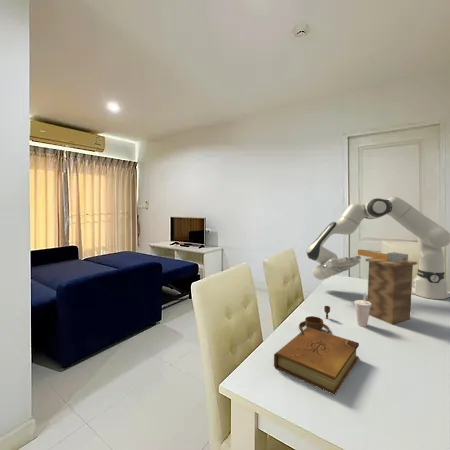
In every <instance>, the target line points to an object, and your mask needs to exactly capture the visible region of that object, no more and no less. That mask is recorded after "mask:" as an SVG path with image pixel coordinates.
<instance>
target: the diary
mask: <svg viewBox="0 0 450 450" xmlns="http://www.w3.org/2000/svg"><path fill="white" fill-rule="evenodd" d="M302 330H303V331H301V332H299V334H297V335H296V336H294V337H293V338H292V339H290V340H289V341H288V342H287V343H286V344H285V345H283V347H281V348H280V349H278V350H277V352H275V353H274V354H273V367H274V368H275V369H277V370H279V371H281V372H283V373H285V374H288V375H290V376H293V377H294V378H296V379H299V380H300V381H303V382H305V383H308V384H310V385H312V386H314V387H316V386H317V388H318V387H319V388H318V389H320V388H321V390H323V389H324V390H323V391H325V390H326V391H325V392H327V391H328V392H327V393H329V392H330V394H331V393H332V394H331V395H333V394H335V393H336V394H337V392H338V391H337V390H339V389H340V387H341V386H342V385H343V383H344V381H345V380H344V379H346V378H347V377H348V375H349V374H350V371H351V370H352V369H353V367H354V366H355V364H356V362H357V361H358V360H359V356H358V355H357V349H358V347H359V345H360V342H357V341H353V340H351V339H347V338H344V337H341V336H337V335H335V334H332V333H330V332H329V333H327V332H325V331H321V330H320V331H319V330H316V329H313V328H309V327H305V328H304V329H302ZM342 382H343V383H342ZM340 385H341V386H340ZM336 394H335V395H336Z"/></svg>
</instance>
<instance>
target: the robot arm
mask: <svg viewBox="0 0 450 450" xmlns="http://www.w3.org/2000/svg"><path fill="white" fill-rule="evenodd" d="M386 215H387V216H390V217H391V218H392V219H394V220H395V221H396V223H399V225H401V226H402V227H403V228H404V229H406V230H408V231H409V232H410V233H412V234H413V235H415V236H416V238H417V245H418V246H417V247H418V248H417V249H418V268H417V271H416V275H415V277H414V278H412V290H411V295H416V296H419V297H422V298H427V299H432V300H444V299H447V298H448V299H449V297H450V294H448V282H447V281H446V280H445V277H446V275H445V274H446V273H445V270H444V269H445V255H444V251H443V248H445V247H446V246H448V245H449V244H450V232H449V231H448V230H447V229H445V228H444V227H443V226H441V225H440V224H438V223H437V222H435V221H433V220H432V219H431V218H429V217H428V216H426V215H424V213H422V212H420V211H419V210H417V208H415V207H414V206H412V205H411V204H409V203H408V202H407V201H405V200H404V199H402V198H400V197H397V196H391V197H388V198H387V199H386V198H385V199H384V198H380V197H379V198H378V197H377V198H373V199H371V200H369V201H367V202H366V203H363V204H360V203H355V202H353V203H350V204H349V205H348V206H347V208H346V209H344V211H343V212H342V214H341V216H340V217H339V219H337V220H336V221H332V222H330V223H329V224H327V226H325V228H324V230H322V232H321V233H320V234H319V235H318V236H317V238H316V239H315V240H314V241H313V242H312V243H311V244H310V245H308V247H307V249H306V256H307V257H308V259H309V260H312V261H314V262H317V263H318V265H317V266H315V267H314V268H313V269H312V271H311V272H312V275H313V276H314V278H316V279H317V280H319V281H321V280H322V281H323V280H326V279H330V278H331V277H333V276H335V275H338V274H341V273H343V272H347V271H349V270H350V269H351V268H353V267H354V266H357V265H358V264H360V263H361V255H356V256H351V257H349V256H348V257H346V256H344V257H341V258H338V255H337V254H336V253H334V252H333V251H331V250H330V249H328V248H326V247H324V244H325V243H326V242H327V241H328V240H329V238H330V237H331V236H333V235H336V234H337V235H338V234H339V235H346V236H347V235H352V234H353V233H355V232H356V230H357V229H358V228H359V226H360V224H361V223H362V221H363V220H364V219H368V220H375V219H379V218H381V217H384V216H386Z"/></svg>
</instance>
